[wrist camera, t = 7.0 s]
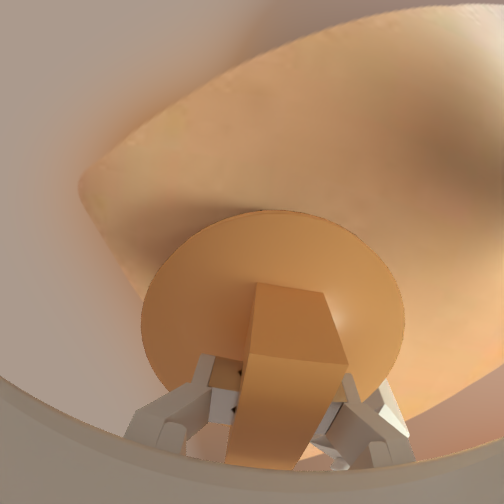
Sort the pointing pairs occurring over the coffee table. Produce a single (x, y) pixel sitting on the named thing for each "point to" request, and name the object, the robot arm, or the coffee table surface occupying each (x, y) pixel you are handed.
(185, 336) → the orange cap
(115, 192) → the coffee table surface
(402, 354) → the coffee table surface
